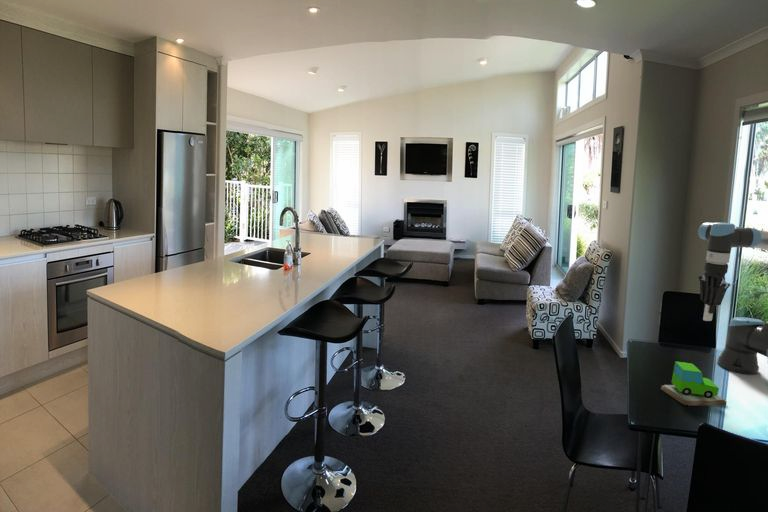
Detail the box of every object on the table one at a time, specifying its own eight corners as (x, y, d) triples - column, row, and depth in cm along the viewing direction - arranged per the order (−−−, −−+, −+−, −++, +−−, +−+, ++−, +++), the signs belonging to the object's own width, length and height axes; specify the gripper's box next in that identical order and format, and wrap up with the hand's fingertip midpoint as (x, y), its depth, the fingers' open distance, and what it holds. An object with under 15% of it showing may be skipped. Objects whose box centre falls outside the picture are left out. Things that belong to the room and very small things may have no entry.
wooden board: (700, 389, 195) (701, 384, 195) (725, 405, 182) (727, 400, 182) (660, 389, 193) (661, 384, 193) (684, 405, 180) (685, 400, 180)
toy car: (718, 401, 181) (724, 375, 179) (680, 395, 184) (684, 371, 182) (706, 388, 191) (711, 364, 189) (669, 384, 193) (674, 360, 191)
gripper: (695, 259, 196) (686, 315, 200) (722, 266, 183) (712, 326, 188) (712, 258, 197) (702, 314, 201) (739, 266, 184) (729, 325, 189)
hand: (707, 320), depth 195 cm, fingers closed
